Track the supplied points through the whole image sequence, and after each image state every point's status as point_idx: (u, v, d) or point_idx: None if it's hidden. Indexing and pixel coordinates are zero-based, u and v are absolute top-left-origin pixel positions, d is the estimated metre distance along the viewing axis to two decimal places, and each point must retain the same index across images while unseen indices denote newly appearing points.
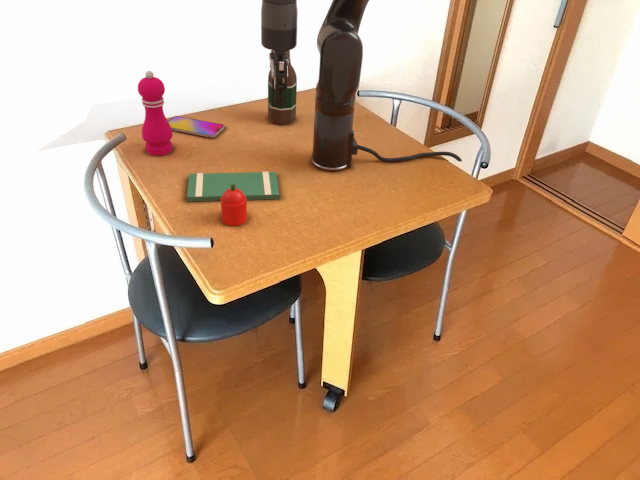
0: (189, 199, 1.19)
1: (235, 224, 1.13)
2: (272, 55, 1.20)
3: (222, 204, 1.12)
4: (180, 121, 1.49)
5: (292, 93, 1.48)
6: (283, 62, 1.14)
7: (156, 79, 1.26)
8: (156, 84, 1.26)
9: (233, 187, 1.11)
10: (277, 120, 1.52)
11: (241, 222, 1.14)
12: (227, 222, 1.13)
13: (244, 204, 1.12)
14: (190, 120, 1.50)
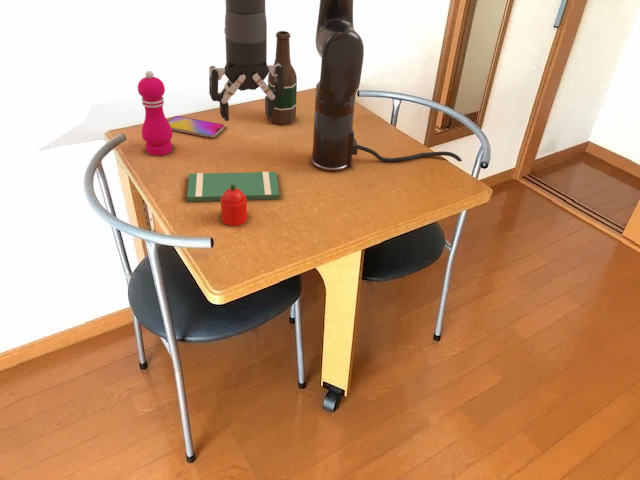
0: (189, 199, 1.19)
1: (235, 224, 1.13)
2: None
3: (222, 204, 1.12)
4: (180, 121, 1.49)
5: (292, 93, 1.48)
6: (212, 69, 1.02)
7: (156, 79, 1.26)
8: (156, 84, 1.26)
9: (233, 187, 1.11)
10: (277, 120, 1.52)
11: (241, 222, 1.14)
12: (227, 222, 1.13)
13: (244, 204, 1.12)
14: (190, 120, 1.50)
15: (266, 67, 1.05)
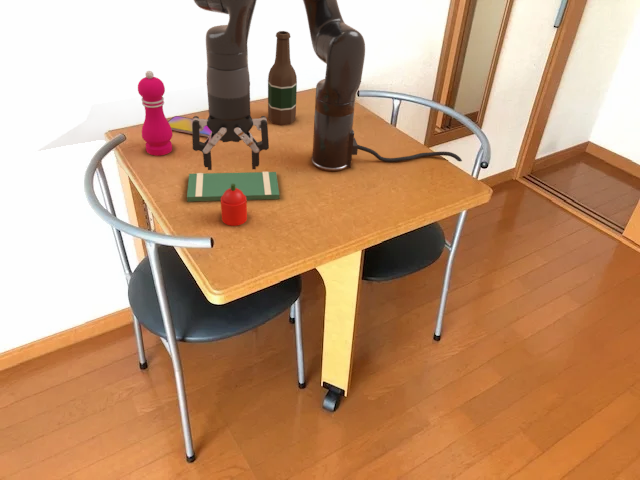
0: (189, 199, 1.19)
1: (235, 224, 1.13)
2: None
3: (222, 204, 1.12)
4: (180, 121, 1.49)
5: (292, 93, 1.48)
6: (193, 120, 1.01)
7: (156, 79, 1.26)
8: (156, 84, 1.26)
9: (233, 187, 1.11)
10: (277, 120, 1.52)
11: (241, 222, 1.14)
12: (227, 222, 1.13)
13: (244, 204, 1.12)
14: (190, 120, 1.50)
15: (249, 121, 1.02)
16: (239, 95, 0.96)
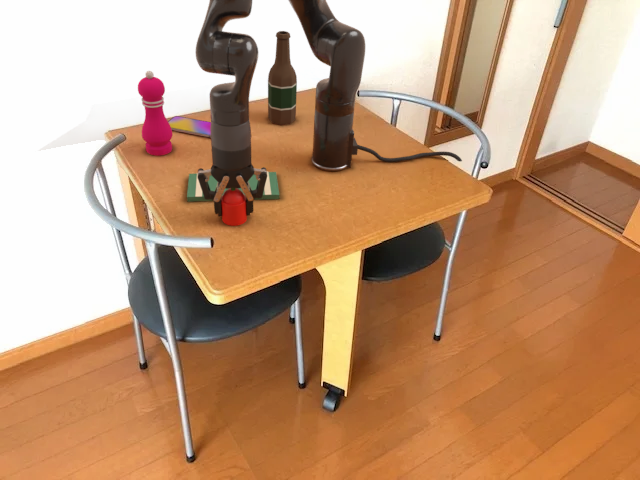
0: (189, 199, 1.19)
1: (235, 224, 1.13)
2: None
3: (222, 204, 1.12)
4: (180, 121, 1.49)
5: (292, 93, 1.48)
6: (198, 173, 1.08)
7: (156, 79, 1.26)
8: (156, 84, 1.26)
9: None
10: (277, 120, 1.52)
11: (241, 222, 1.14)
12: (227, 222, 1.13)
13: (244, 204, 1.12)
14: (190, 120, 1.50)
15: (251, 170, 1.08)
16: (241, 148, 1.02)
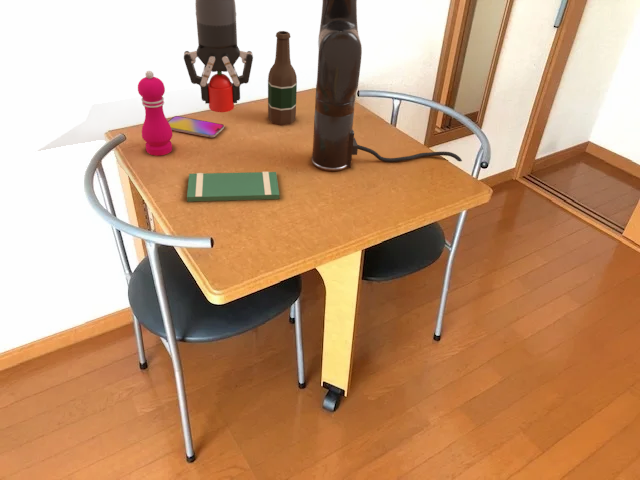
0: (189, 199, 1.19)
1: (222, 110, 1.14)
2: None
3: (209, 89, 1.13)
4: (180, 121, 1.49)
5: (292, 93, 1.48)
6: (184, 55, 1.09)
7: (156, 79, 1.26)
8: (156, 84, 1.26)
9: (219, 71, 1.12)
10: (277, 120, 1.52)
11: (228, 109, 1.15)
12: (214, 109, 1.14)
13: (231, 89, 1.13)
14: (190, 120, 1.50)
15: (237, 51, 1.09)
16: (226, 23, 1.04)
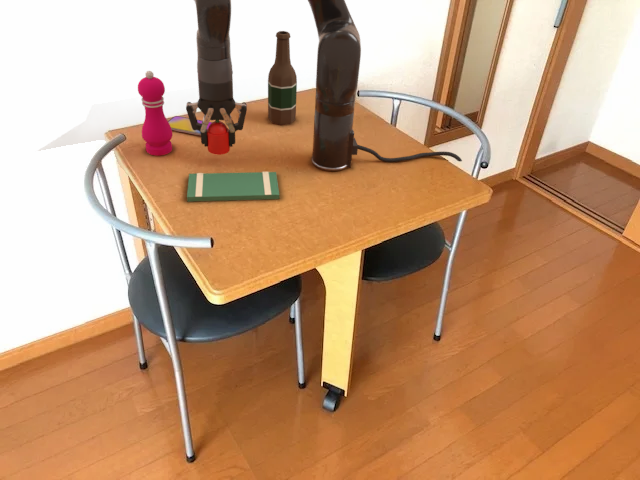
0: (189, 199, 1.19)
1: (219, 153, 1.30)
2: None
3: (208, 135, 1.28)
4: (180, 121, 1.49)
5: (292, 93, 1.48)
6: (186, 106, 1.24)
7: (156, 79, 1.26)
8: (156, 84, 1.26)
9: (217, 119, 1.27)
10: (277, 120, 1.52)
11: (224, 152, 1.30)
12: (212, 151, 1.30)
13: (227, 135, 1.29)
14: None
15: (233, 103, 1.25)
16: (223, 81, 1.19)
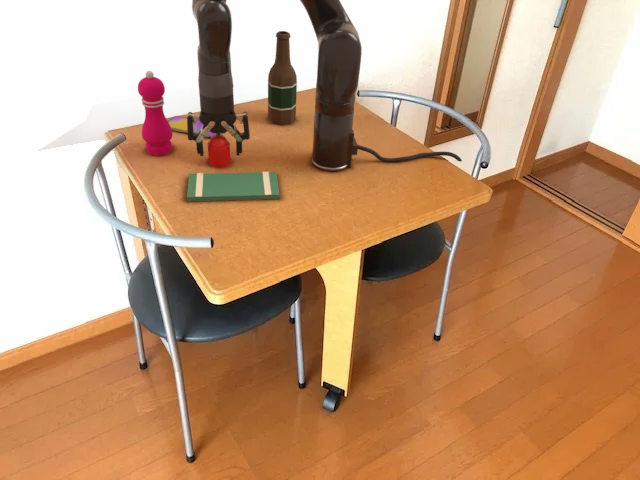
0: (189, 199, 1.19)
1: (220, 166, 1.32)
2: None
3: (209, 148, 1.30)
4: (180, 121, 1.49)
5: (292, 93, 1.48)
6: (188, 115, 1.25)
7: (156, 79, 1.26)
8: (156, 84, 1.26)
9: (218, 133, 1.29)
10: (277, 120, 1.52)
11: (225, 164, 1.32)
12: (213, 164, 1.32)
13: (227, 148, 1.31)
14: None
15: (233, 116, 1.26)
16: (224, 95, 1.21)
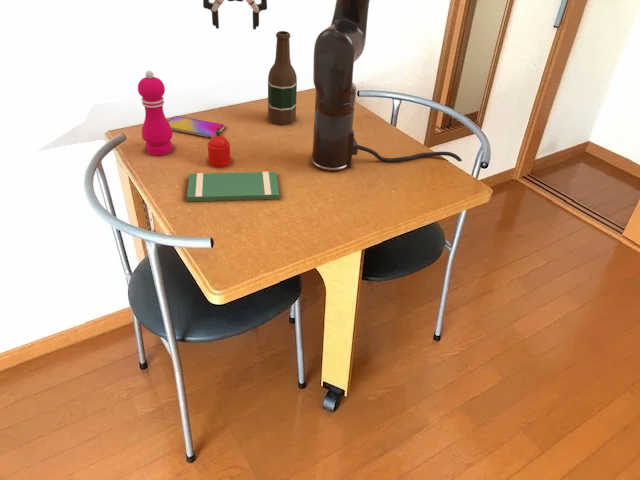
0: (189, 199, 1.19)
1: (220, 166, 1.32)
2: None
3: (209, 148, 1.30)
4: (180, 121, 1.49)
5: (292, 93, 1.48)
6: None
7: (156, 79, 1.26)
8: (156, 84, 1.26)
9: (218, 133, 1.29)
10: (277, 120, 1.52)
11: (225, 164, 1.32)
12: (213, 164, 1.32)
13: (227, 148, 1.31)
14: (190, 120, 1.50)
15: None
16: None
